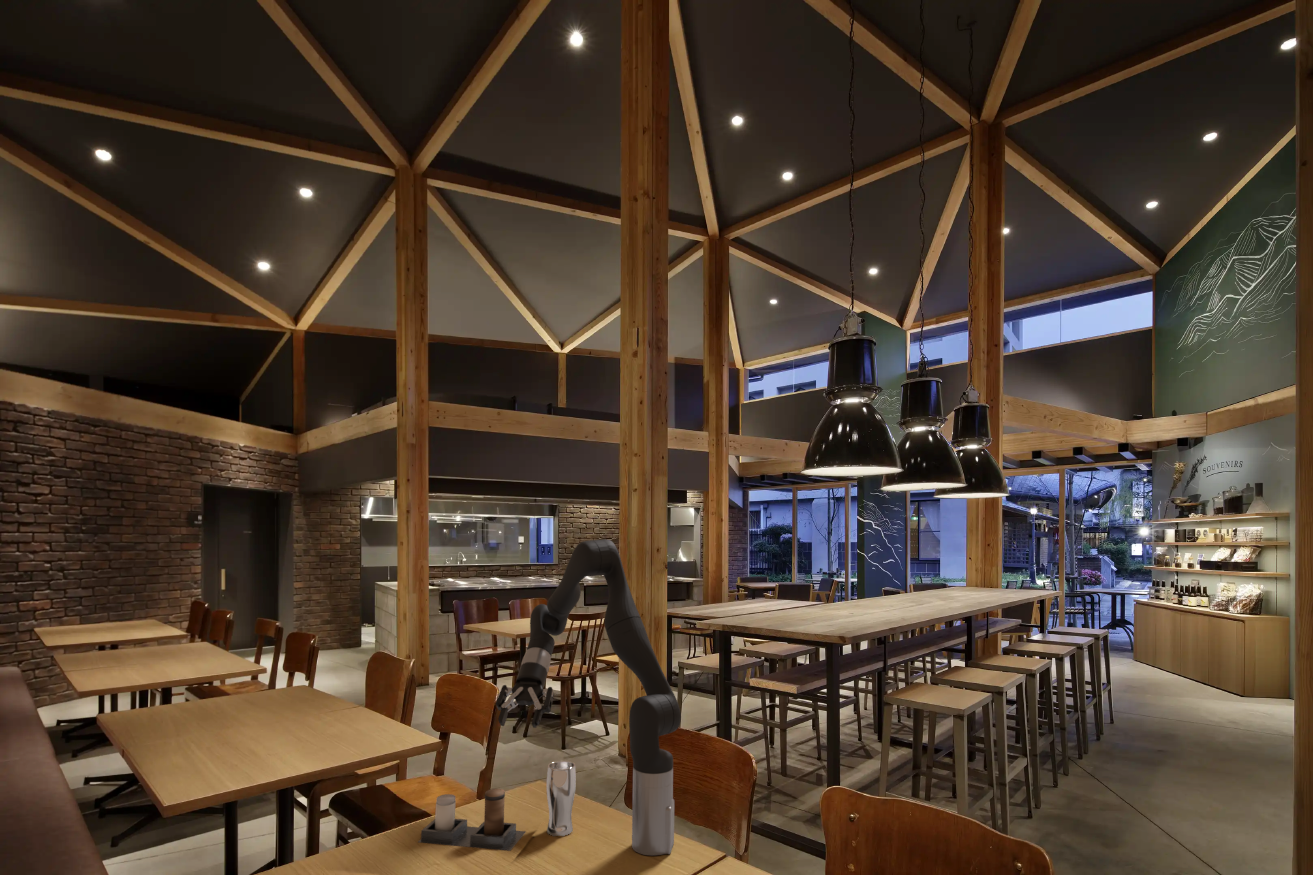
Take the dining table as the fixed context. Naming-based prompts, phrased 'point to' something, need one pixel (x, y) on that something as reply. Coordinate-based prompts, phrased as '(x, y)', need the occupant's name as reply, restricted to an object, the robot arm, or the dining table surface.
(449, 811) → the salt shaker
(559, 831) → the beer glass
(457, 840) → the condiment caddy
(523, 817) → the dining table surface
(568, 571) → the robot arm
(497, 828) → the brown wooden cylinder
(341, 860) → the dining table surface
